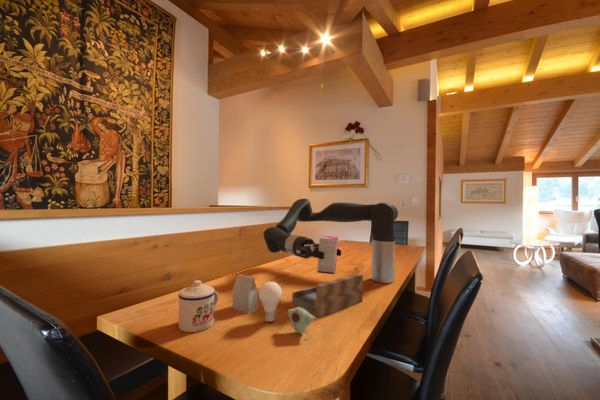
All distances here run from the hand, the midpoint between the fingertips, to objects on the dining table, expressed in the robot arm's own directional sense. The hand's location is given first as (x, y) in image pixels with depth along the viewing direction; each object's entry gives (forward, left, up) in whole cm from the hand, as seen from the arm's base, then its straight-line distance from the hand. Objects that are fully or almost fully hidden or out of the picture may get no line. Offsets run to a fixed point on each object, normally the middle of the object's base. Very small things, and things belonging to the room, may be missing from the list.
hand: (332, 254), depth 88 cm
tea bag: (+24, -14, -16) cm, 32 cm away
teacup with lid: (+38, -13, -16) cm, 43 cm away
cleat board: (0, -2, -16) cm, 16 cm away
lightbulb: (+23, -2, -16) cm, 28 cm away
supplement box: (0, -2, -6) cm, 6 cm away
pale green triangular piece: (+21, +8, -16) cm, 28 cm away
